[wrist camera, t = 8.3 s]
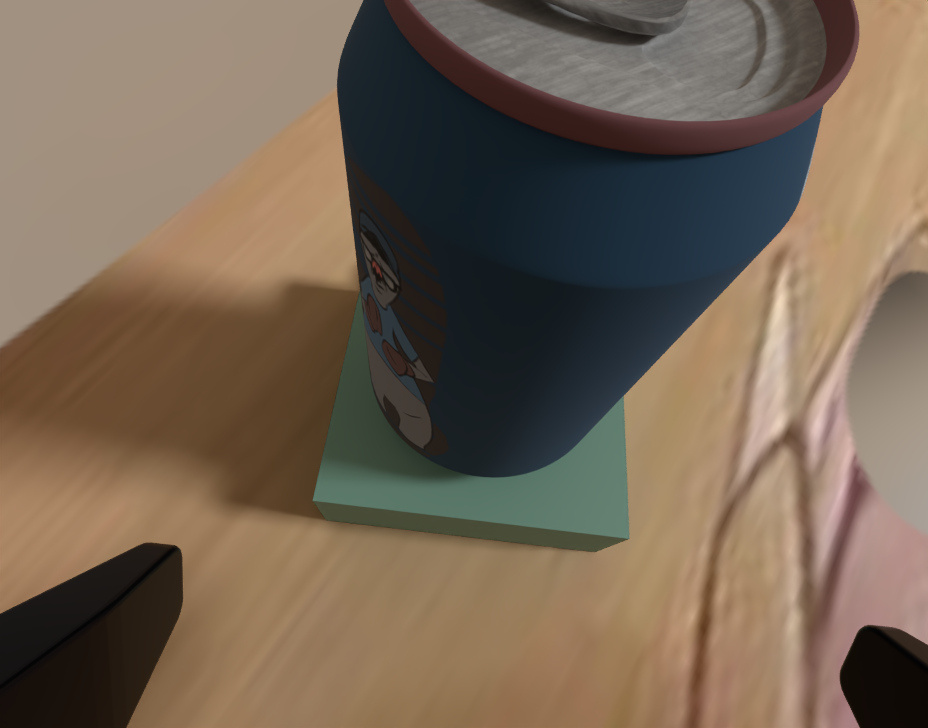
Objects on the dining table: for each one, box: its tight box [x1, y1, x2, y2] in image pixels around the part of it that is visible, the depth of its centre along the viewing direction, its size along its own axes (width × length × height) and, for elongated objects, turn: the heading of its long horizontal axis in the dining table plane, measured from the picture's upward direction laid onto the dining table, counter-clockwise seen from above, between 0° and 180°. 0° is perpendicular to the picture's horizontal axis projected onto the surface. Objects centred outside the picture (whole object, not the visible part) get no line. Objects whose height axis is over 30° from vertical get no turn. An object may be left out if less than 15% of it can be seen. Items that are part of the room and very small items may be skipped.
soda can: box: [337, 0, 859, 478], centre depth 12 cm, size 7×7×12 cm
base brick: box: [313, 292, 629, 552], centre depth 19 cm, size 10×9×3 cm
